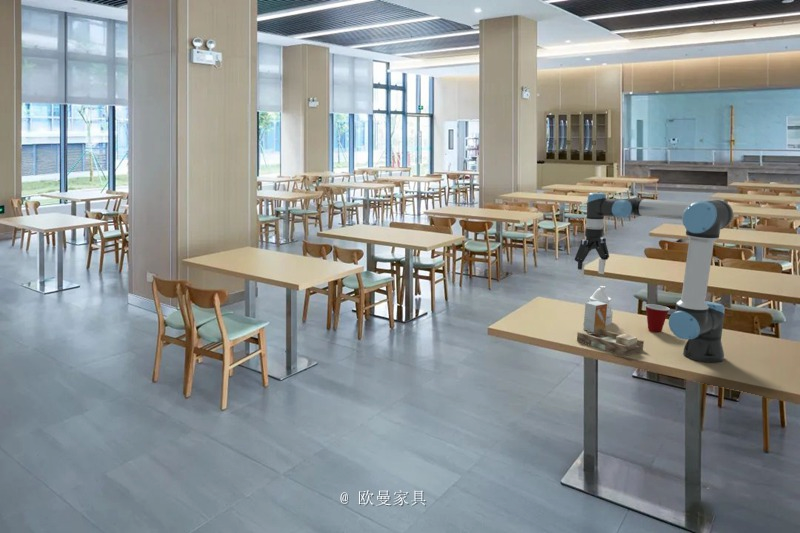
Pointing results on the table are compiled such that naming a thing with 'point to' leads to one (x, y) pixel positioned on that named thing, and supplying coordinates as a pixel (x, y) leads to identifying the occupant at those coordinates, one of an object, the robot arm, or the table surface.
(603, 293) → the white piece
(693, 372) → the table surface
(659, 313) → the plastic cup
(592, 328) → the small box
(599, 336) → the wooden tray
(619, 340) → the block
